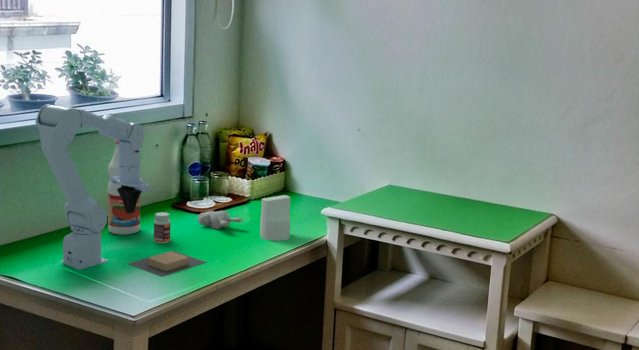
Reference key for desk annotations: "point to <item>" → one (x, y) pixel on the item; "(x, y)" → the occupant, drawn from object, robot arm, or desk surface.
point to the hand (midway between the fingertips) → (130, 212)
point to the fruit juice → (120, 204)
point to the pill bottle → (162, 228)
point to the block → (168, 261)
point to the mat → (144, 266)
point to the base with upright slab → (275, 218)
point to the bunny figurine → (216, 219)
